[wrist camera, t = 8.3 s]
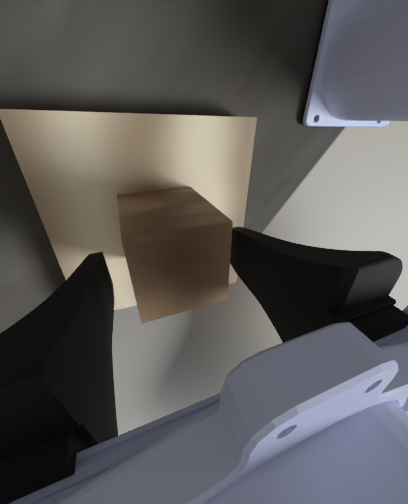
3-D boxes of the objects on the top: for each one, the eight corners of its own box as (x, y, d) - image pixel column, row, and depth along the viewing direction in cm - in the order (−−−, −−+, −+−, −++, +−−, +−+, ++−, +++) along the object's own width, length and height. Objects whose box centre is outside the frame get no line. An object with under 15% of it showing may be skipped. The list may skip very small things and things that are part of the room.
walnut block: (190, 186, 14) (233, 221, 9) (192, 246, 16) (227, 299, 11) (117, 194, 12) (121, 239, 8) (131, 258, 15) (141, 323, 10)
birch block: (234, 117, 15) (256, 117, 13) (223, 264, 22) (236, 282, 20) (20, 111, 12) (-4, 108, 9) (85, 292, 18) (81, 318, 16)
